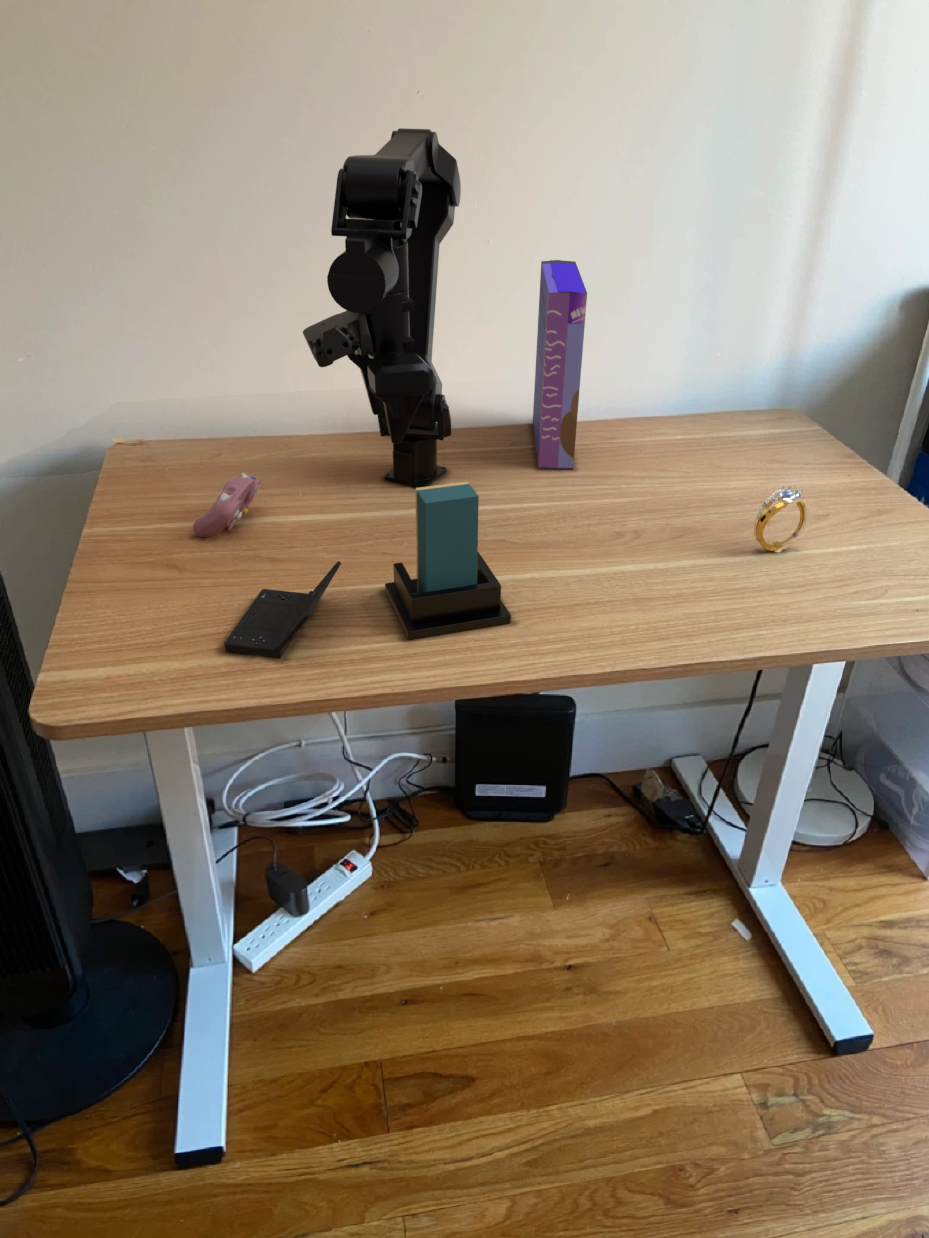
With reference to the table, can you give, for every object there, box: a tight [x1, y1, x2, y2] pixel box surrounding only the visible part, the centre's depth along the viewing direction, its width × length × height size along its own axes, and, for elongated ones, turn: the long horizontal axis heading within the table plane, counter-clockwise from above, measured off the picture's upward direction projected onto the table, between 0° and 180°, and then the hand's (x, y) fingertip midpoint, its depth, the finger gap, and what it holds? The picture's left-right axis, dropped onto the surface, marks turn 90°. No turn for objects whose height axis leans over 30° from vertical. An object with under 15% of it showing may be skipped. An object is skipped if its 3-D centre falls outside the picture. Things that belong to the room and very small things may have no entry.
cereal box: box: [532, 259, 588, 470], centre depth 132 cm, size 17×5×24 cm, turn 179°
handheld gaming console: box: [223, 560, 342, 659], centre depth 96 cm, size 12×7×10 cm
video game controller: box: [192, 472, 262, 538], centre depth 115 cm, size 10×5×7 cm, turn 168°
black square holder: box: [384, 551, 512, 641], centre depth 100 cm, size 10×11×4 cm
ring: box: [753, 485, 812, 553], centre depth 110 cm, size 7×3×8 cm, turn 105°
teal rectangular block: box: [414, 481, 480, 593], centre depth 97 cm, size 4×6×12 cm, turn 108°
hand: (386, 428), depth 109 cm, fingers open, 9 cm apart
